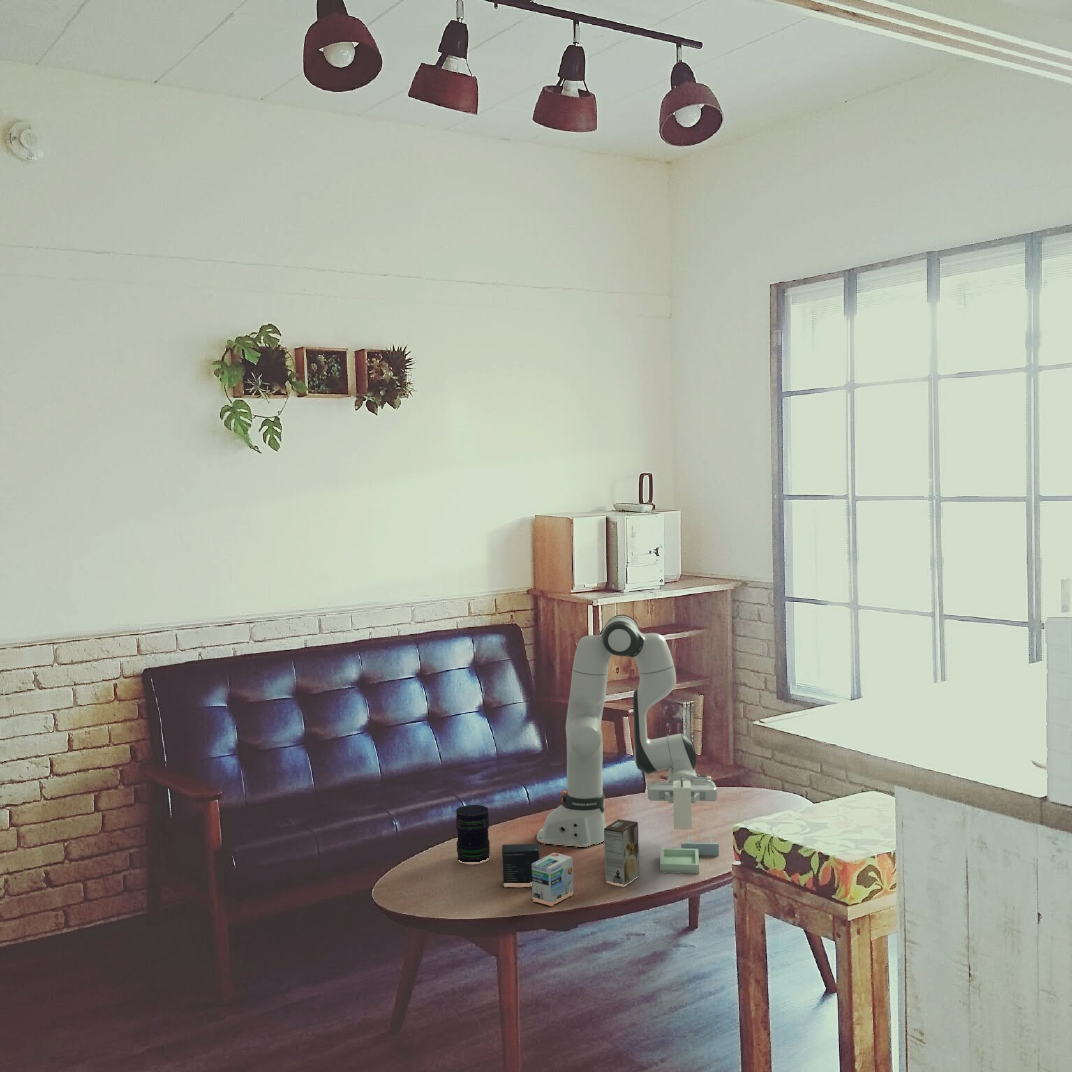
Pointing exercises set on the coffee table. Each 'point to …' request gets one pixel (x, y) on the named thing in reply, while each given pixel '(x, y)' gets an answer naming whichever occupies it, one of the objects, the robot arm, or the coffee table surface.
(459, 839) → the storage jar
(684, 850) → the tray
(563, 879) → the light bulb box
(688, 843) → the dock
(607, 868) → the coffee box
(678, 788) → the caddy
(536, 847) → the box
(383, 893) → the coffee table surface
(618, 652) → the robot arm
